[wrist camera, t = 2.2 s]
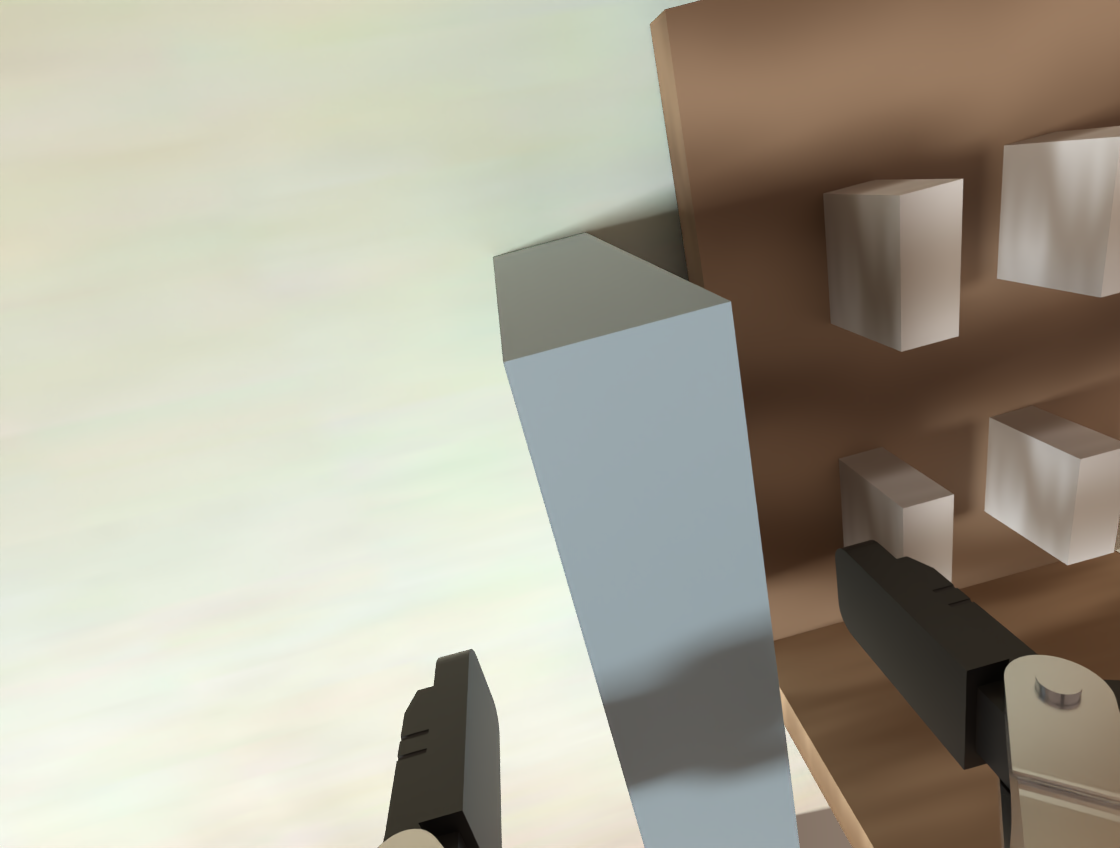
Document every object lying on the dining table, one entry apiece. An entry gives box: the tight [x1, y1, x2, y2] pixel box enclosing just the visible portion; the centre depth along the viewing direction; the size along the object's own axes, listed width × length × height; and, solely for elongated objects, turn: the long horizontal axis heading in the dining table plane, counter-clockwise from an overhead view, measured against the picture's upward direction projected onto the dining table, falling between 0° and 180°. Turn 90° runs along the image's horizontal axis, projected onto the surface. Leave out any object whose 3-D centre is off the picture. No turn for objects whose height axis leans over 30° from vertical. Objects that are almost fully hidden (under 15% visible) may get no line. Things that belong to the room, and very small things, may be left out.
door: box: [493, 232, 800, 848], centre depth 16 cm, size 14×4×12 cm, turn 14°
